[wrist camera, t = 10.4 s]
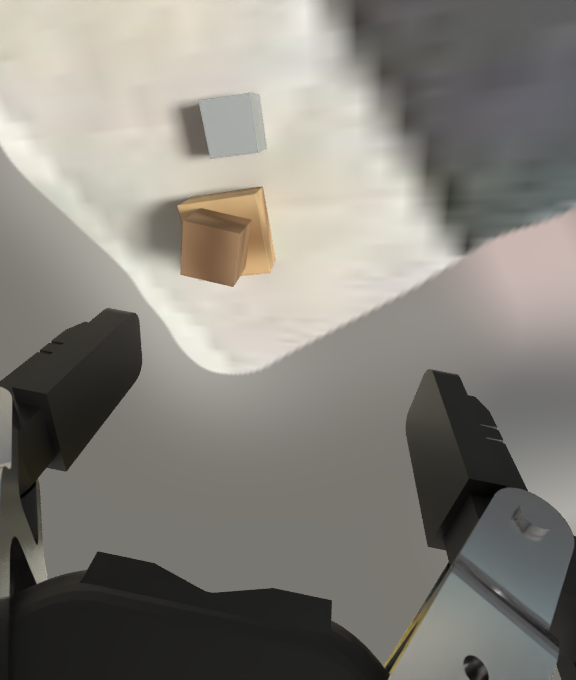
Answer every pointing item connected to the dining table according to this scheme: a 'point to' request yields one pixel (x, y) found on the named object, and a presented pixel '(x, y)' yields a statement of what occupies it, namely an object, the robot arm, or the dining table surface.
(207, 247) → the walnut cube
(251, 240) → the teak block
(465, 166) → the dining table surface
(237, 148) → the slate-grey cube
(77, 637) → the robot arm
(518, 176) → the dining table surface
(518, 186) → the dining table surface
